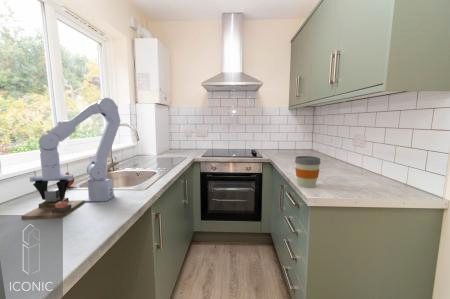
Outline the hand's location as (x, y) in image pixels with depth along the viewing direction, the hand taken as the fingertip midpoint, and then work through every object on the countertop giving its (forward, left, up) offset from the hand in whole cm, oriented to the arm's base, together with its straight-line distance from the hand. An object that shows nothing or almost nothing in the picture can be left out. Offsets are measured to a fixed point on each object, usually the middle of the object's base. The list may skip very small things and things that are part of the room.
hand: (53, 198), depth 90 cm
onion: (+11, -28, -4) cm, 31 cm away
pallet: (-3, +4, -3) cm, 6 cm away
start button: (-7, +7, -1) cm, 10 cm away
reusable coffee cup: (-114, -21, -4) cm, 116 cm away
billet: (0, 0, -2) cm, 2 cm away
